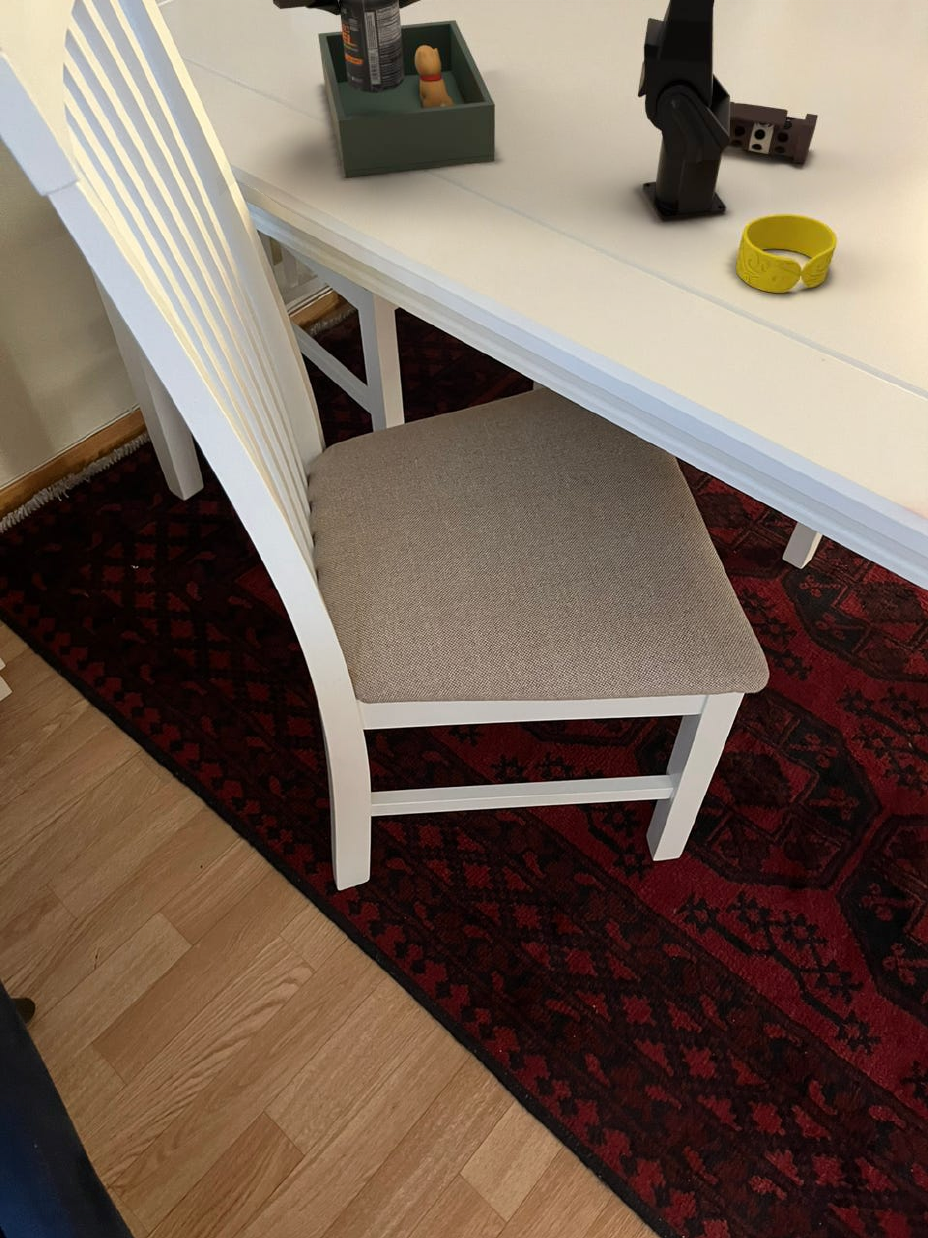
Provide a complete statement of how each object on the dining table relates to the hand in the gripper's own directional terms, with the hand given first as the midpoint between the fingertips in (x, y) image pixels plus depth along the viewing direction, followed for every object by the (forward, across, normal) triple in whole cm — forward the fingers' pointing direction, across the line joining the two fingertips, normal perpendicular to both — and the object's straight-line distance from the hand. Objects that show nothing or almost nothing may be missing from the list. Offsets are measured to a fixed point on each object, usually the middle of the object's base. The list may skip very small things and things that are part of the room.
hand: (368, 6), depth 94 cm
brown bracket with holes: (-4, -42, +20) cm, 47 cm away
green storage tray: (+8, -3, +8) cm, 12 cm away
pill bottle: (+4, 0, +6) cm, 7 cm away
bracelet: (-17, -31, +35) cm, 49 cm away
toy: (+8, -6, +8) cm, 13 cm away
